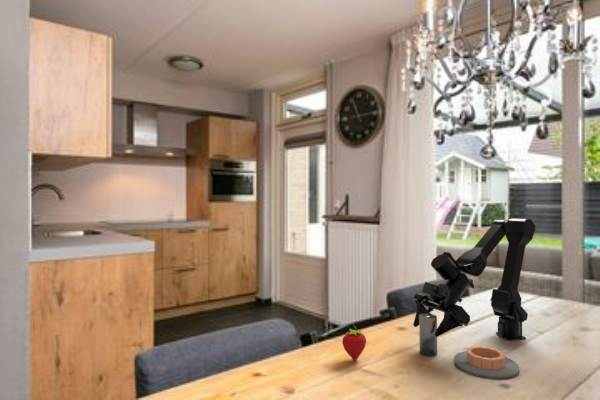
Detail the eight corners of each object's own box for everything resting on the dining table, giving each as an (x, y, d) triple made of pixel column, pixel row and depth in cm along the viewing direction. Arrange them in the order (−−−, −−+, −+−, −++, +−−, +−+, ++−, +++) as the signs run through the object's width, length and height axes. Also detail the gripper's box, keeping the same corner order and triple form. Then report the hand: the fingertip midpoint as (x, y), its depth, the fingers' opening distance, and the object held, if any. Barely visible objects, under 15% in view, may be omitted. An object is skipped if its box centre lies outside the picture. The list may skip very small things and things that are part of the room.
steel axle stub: (432, 349, 118) (431, 313, 118) (440, 355, 113) (440, 317, 113) (416, 350, 118) (416, 314, 118) (424, 356, 113) (424, 318, 113)
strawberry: (337, 360, 111) (337, 325, 111) (356, 353, 116) (355, 319, 116) (352, 366, 106) (352, 330, 106) (371, 359, 111) (370, 324, 111)
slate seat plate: (493, 352, 115) (493, 340, 115) (533, 376, 100) (533, 362, 100) (443, 356, 113) (442, 344, 113) (476, 381, 97) (476, 367, 97)
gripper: (417, 267, 126) (389, 305, 121) (462, 278, 109) (431, 322, 104) (436, 290, 129) (410, 327, 124) (483, 303, 112) (454, 347, 107)
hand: (424, 330), depth 115 cm, fingers open, 9 cm apart
